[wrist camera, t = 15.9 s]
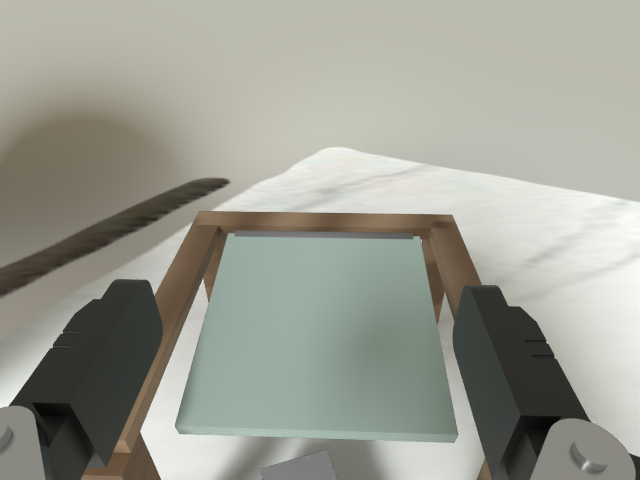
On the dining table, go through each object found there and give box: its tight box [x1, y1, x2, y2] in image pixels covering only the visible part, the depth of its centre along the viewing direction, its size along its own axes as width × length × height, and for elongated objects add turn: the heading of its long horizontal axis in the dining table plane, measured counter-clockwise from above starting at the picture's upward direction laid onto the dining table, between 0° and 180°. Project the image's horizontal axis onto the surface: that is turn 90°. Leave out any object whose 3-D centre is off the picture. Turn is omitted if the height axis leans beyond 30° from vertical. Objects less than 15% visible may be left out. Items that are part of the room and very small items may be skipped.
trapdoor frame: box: [81, 211, 492, 480], centre depth 29 cm, size 20×20×14 cm
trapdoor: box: [175, 230, 458, 443], centre depth 26 cm, size 14×15×1 cm
